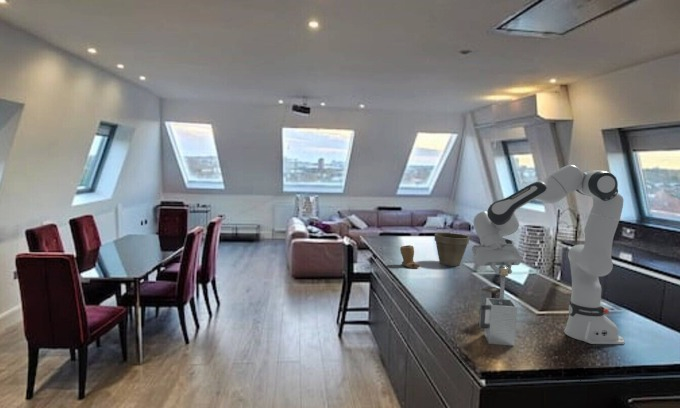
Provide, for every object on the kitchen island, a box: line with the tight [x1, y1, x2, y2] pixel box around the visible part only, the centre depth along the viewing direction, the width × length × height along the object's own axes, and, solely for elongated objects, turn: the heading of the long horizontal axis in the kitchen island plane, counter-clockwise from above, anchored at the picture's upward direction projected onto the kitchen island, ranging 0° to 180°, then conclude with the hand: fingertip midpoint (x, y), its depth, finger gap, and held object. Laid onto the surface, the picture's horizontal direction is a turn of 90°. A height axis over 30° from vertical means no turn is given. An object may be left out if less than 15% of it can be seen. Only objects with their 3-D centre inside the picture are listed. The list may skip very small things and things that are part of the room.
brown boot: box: [399, 244, 421, 269], centre depth 309 cm, size 15×12×15 cm
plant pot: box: [434, 232, 470, 267], centre depth 322 cm, size 25×25×22 cm
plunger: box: [498, 266, 509, 306], centre depth 179 cm, size 8×8×22 cm
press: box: [478, 298, 518, 347], centre depth 180 cm, size 13×10×16 cm
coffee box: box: [478, 285, 500, 325], centre depth 200 cm, size 9×6×16 cm
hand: (504, 273), depth 178 cm, fingers closed on plunger, 4 cm apart
